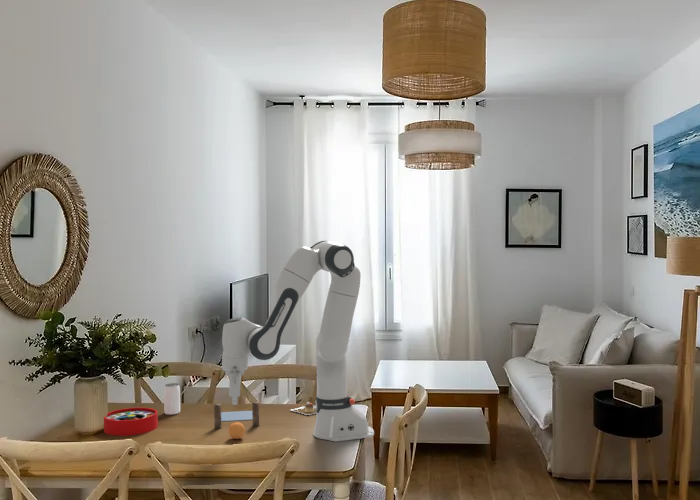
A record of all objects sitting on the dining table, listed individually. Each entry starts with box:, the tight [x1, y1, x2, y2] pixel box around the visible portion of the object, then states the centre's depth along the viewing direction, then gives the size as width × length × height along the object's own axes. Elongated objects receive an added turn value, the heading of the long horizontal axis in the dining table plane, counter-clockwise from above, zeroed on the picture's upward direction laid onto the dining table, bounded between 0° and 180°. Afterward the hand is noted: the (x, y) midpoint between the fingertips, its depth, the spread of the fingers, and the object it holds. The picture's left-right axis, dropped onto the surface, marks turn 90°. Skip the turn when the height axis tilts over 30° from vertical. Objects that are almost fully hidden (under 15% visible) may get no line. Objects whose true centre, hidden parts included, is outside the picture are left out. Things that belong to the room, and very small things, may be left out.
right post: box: [251, 401, 260, 428], centre depth 266 cm, size 3×3×9 cm
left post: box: [213, 403, 222, 430], centre depth 264 cm, size 3×3×9 cm
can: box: [163, 382, 181, 416], centre depth 287 cm, size 6×6×12 cm
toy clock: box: [103, 407, 159, 437], centre depth 265 cm, size 20×6×20 cm
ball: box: [227, 421, 246, 440], centre depth 249 cm, size 6×6×6 cm
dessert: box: [289, 401, 317, 416], centre depth 288 cm, size 12×12×5 cm
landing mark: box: [221, 410, 253, 423], centre depth 281 cm, size 14×14×1 cm
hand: (234, 403), depth 238 cm, fingers closed
